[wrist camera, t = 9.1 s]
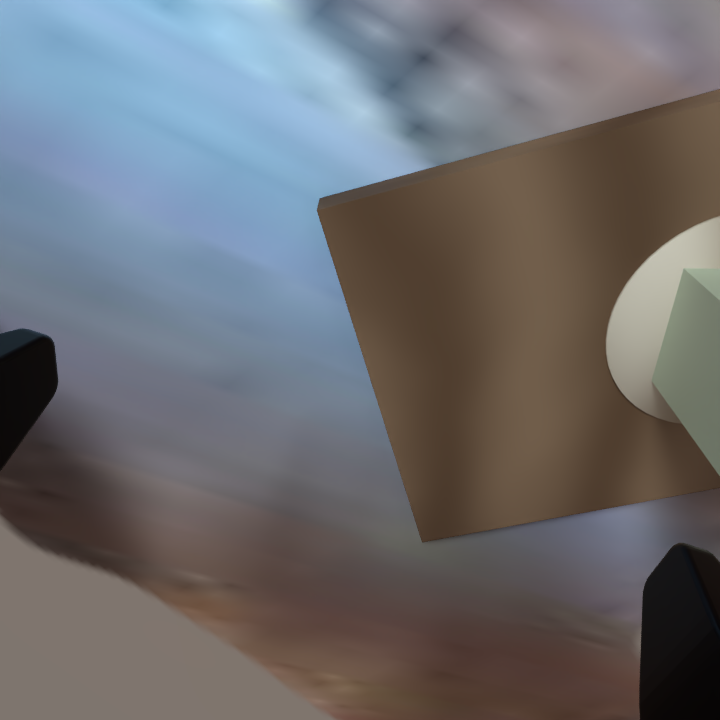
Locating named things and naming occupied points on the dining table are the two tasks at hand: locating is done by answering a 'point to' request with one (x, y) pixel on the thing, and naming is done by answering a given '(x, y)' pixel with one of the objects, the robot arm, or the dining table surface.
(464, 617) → the dining table surface
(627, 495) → the walnut board
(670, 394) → the sage block
